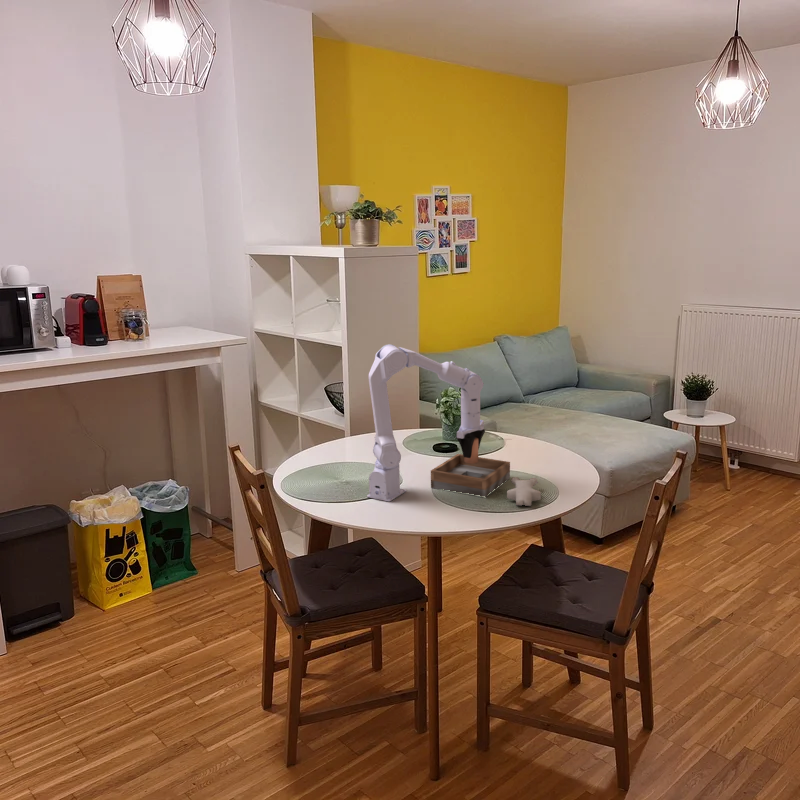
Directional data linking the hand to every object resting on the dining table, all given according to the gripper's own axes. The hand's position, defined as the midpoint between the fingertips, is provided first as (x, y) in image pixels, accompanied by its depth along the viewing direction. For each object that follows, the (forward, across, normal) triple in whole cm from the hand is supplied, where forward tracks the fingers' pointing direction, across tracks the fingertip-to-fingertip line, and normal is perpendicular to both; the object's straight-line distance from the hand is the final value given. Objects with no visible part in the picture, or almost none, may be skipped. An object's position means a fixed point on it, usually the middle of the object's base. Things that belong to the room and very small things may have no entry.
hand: (470, 455), depth 221 cm
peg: (+2, 0, 0) cm, 2 cm away
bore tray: (+9, 0, 0) cm, 9 cm away
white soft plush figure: (+10, -4, -19) cm, 21 cm away
